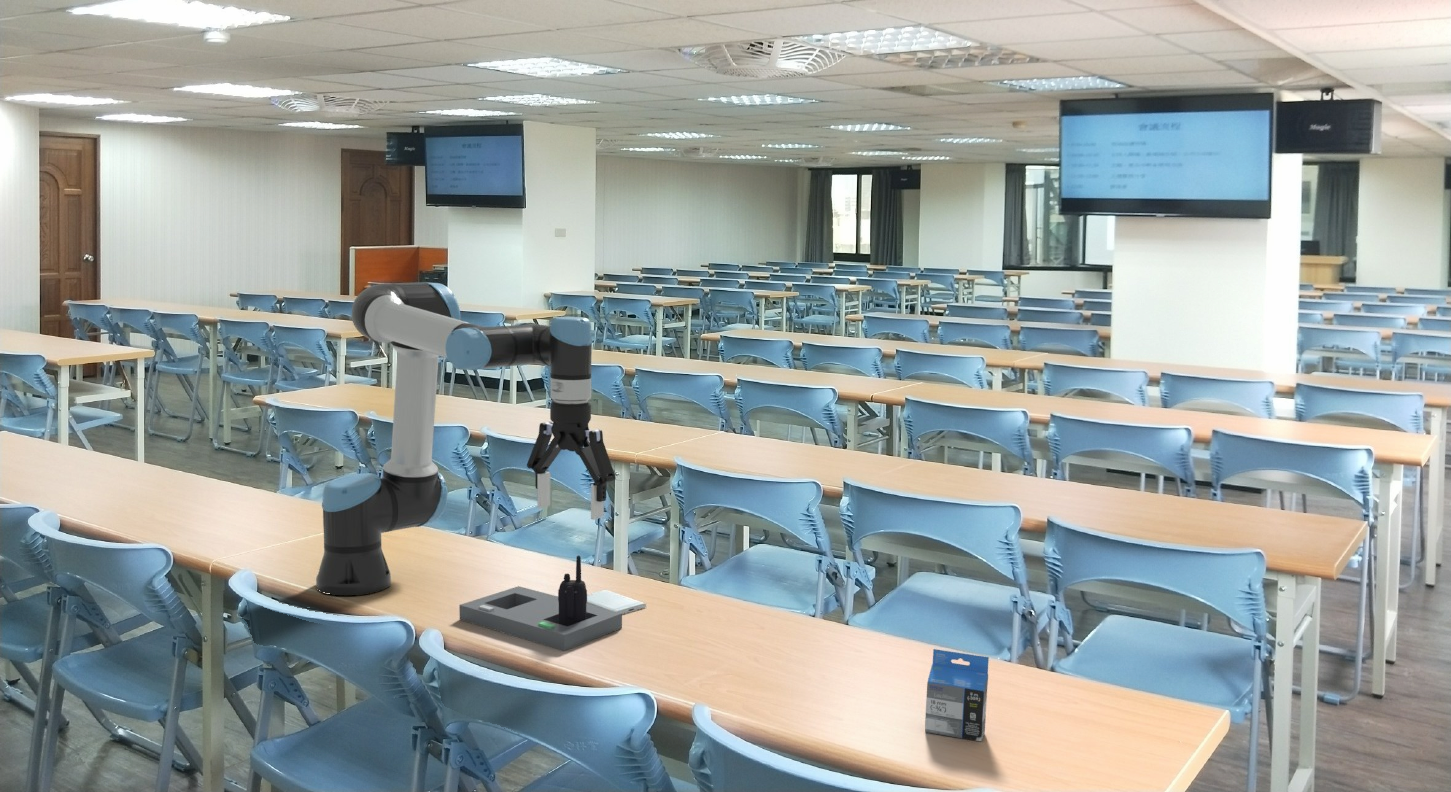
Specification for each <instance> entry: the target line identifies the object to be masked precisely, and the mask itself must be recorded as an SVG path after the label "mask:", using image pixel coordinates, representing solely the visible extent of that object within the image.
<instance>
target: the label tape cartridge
mask: <svg viewBox="0 0 1451 792" xmlns="http://www.w3.org/2000/svg"><path fill="white" fill-rule="evenodd" d="M989 659H990V657H989V656H983V655H975V654H968V653H962V652H957V651H956V652H955V651H949V650H944V649H943V650H942V649H937V648H936V649H935V648H933V653H932V664H931V666H930V670H929V675H928V679H927V682H926V683H927V684H926V700H925V721H924V722H925V725H924V727H925V729H924V730H925V731H924V732H925V733H929V734H934V735H935V734H936V735H941V736H947V737H951V738H952V737H953V738H959V739H964V740H969V741H974V742H980V741H981V742H982V741H983V738H984V736H985V732H986V719H987V717H986V716H987V715H986V714H987V701H988V684H989V661H990V660H989ZM953 660H954V661H959V660H962V661H963V662H966V663H967V662H968V663H969V664H968V665H967V664H961V663H955V662H952V661H953Z"/></svg>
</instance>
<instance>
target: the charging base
mask: <svg viewBox="0 0 1451 792" xmlns="http://www.w3.org/2000/svg"><path fill="white" fill-rule="evenodd" d="M459 620H460V621H462V620H463V622H466V623H469V624H472V623H473V624H472V625H476V626H479V627H482V628H483V627H484V628H487V629H490V630H493V631H497V632H499V633H503V634H507V635H509V636H514V637H517V638H520V639H523V640H525V641H526V640H527V641H530V642H534V643H537V644H539V645H540V644H541V645H543V646H547V647H551V648H553V649H557V650H561V651H562V652H563V651H564V652H565V651H567V650H571V649H573V648H575V647H578V646H581V645H583V644H586V643H588V642H591V641H594V640H596V639H599V638H601V637H604V636H606V635H608V633H609V634H611V633H613V631H614V632H616V631H619V630H621V628H623V614H622V613H619V612H615V611H611V610H608V609H604V608H600V607H596V606H592V605H588V604H586V620H584V621H581V622H579V623H576V624H573V625H570V626H564V625H561V624H559V601H558V595H554V594H550V593H546V592H542V591H539V590H535V589H532V588H528V587H527V588H526V587H523V586H519V585H518V586H514V587H512V588H509V589H505V590H501V591H499V592H496V593H493V594H489V595H486V596H484V597H480V598H477V599H474V600H471V601H468V602H465V603H461V604H459Z"/></svg>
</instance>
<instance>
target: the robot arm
mask: <svg viewBox="0 0 1451 792" xmlns="http://www.w3.org/2000/svg"><path fill="white" fill-rule="evenodd" d="M351 307H352V308H351V312H350V313H351V319H352V323H353V324H352V325H353V326H354V327H355V330H357V331H358V333H360V335H362V336H363V337H365V338H367V339H370V340H372V341H375V342H378V343H383V344H385V343H387V344H388V343H390V346H391V347H392V348H393V349H394V350H395V351H396V353H397V355H396V367H395V368H396V369H395V370H396V371H395V386H394V387H395V389H394V390H395V391H394V404H393V420H392V422H393V423H392V434H391V435H392V438H391V453H390V459H389V460H388V461H386V463H384V464H383V466H382V478H380V475H378V474H377V473H372V472H360V473H350V474H345V475H342V476H340V477H336V478H335V479H332V480H330V481H329V482H328V483H327V484H326V485H325V486H324V487H323V491H322V501H321V507H322V523H323V526H322V527H323V548H324V549H323V550H324V551H323V556H322V559H321V561H320V566H319V569H318V574H316V581H315V583H316V586H315V588H316V587H317V588H316V590H317V589H318V590H320V591H321V592H325V593H330V594H332V595H331V596H335V595H356V596H362V595H364V594H365V595H369V593H370V594H374V592H375V593H377V592H378V593H379V592H380V590H381V591H383V590H386V589H387V588H389V587H390V586H391V582H392V581H391V580H392V578H391V577H392V576H391V571H390V569H389V565H388V563H387V559H386V557H385V555H384V552H383V548H382V534H384V533H388V532H394V531H399V530H403V529H410V528H417V527H418V528H419V527H423V526H424V525H427V524H432V523H433V522H436V521H437V520H438V519H439V518H441V516H443V514H444V512H445V510H446V507H447V504H448V494H449V493H448V486H446V484H447V483H446V479H445V477H444V476H443V475H442V473H440V472H439V467H438V466H437V465H436V464H435V463H434V462H433V460H432V459H433V446H434V430H435V429H434V428H435V416H436V415H435V413H436V403H437V402H436V401H437V388H438V387H437V386H438V373H439V370H438V369H439V360H440V359H439V358H440V357H442V358H445V359H447V360H448V362H449V363H450V364H451V365H452V367H453V368H455V369H457V370H459V371H460V370H462V371H466V370H468V371H477V370H480V369H481V370H482V369H484V370H485V369H492V368H503V367H516V366H517V367H518V366H526V365H527V366H528V365H541V366H549V367H550V376H549V377H550V399H552V401H551V403H550V405H549V406H550V407H549V408H550V409H549V410H550V411H549V412H550V413H549V416H550V417H549V419H550V421H545V422H541V423H539V425H538V427H539V428H538V435H537V437H536V440H535V442H534V444H533V448H532V451H531V453H530V455H529V458H528V461H527V463H526V467H527V469H531V470H533V472H534V473H535V474H534V475H535V478H534V479H535V489H536V490H537V497H536V498H537V503H536V504H537V506H536V507H537V508H539V509H543V508H546V507H550V506H551V472H549V471H550V469H549V468H550V466H551V465H552V464H553V462H554V461H555V459H556V458H557V456H558V455H559V454H560V453H561V451H562V450H563V451H565V450H567V451H569V452H574V453H575V454H576V455H577V456H579V457H580V460H581V461H582V463H583V465H584V467H585V468H586V469H587V472H588V473H589V476H590V477H591V478H592V480H593V483H592V484H591V483H590V484H591V485H590V520H597V519H601V518H604V516H605V515H604V513H605V509H604V508H605V501H607V485H608V483H611V482H614V481H616V480H617V479H616V478H617V477H616V474H615V471H614V468H613V466H612V463H611V459H610V457H609V453H608V451H607V449H606V445H605V443H604V436H603V435H604V434H603V433H604V432H603V431H602V429H600V428H599V429H594V430H592V429H591V430H590V427H589V423H590V421H591V420H592V403H591V401H589V400H590V399H592V350H593V347H592V346H593V345H592V343H593V338H592V335H593V334H592V324H591V321H590V320H589V319H588V318H586V317H581V316H555V317H552V318H551V320H550V325H544V324H538V323H535V322H519V323H515V324H514V325H503V326H502V325H501V326H482V325H477V324H475V323H474V324H473V323H470V322H467V321H464V320H461V310H460V309H461V308H460V305H459V303H458V300H457V298H456V297H455V295H454V293H453V291H452V290H451V289H450V288H449V287H447V286H446V285H444V284H442V283H438V282H427V281H421V282H420V281H419V282H398V283H395V282H394V283H384V282H383V283H377V284H373V285H371V286H369V287H366V288H365V289H364V290H362V291H361V292H360V293H359V294H358V295H357V296H356V298H355V299H354V301H353V303H352V306H351ZM552 436H553V438H552ZM318 590H317V591H318ZM321 592H320V593H321Z"/></svg>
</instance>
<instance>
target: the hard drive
mask: <svg viewBox="0 0 1451 792" xmlns="http://www.w3.org/2000/svg"><path fill="white" fill-rule="evenodd" d="M586 604H588V605H592V606H596V607H600V608H604V609H608V610H611V611H615V612H619V613H622V615H625V614H628V613H627V612H629V613H631V612H636V611H638V610H637V609H639V610H642V609H641V608H643V609H646V608H647V603H645V602H642V601H639V600H636V599H634V598H631V597H627V596H625V595H622V594H619V593H616V592H614V591H610V590H608V589H603V590H599V591H596V592H592V593H589V594H588V593H587V603H586ZM645 607H646V608H645ZM624 613H625V614H624Z"/></svg>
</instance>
